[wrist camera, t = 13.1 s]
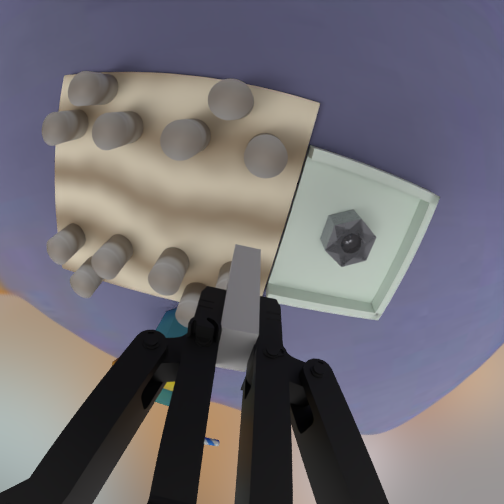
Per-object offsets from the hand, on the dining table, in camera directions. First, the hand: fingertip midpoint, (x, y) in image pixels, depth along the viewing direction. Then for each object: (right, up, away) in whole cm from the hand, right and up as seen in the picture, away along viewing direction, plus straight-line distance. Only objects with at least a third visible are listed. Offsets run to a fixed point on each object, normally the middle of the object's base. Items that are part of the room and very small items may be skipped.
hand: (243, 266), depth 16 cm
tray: (+11, +2, +11) cm, 16 cm away
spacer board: (-9, +7, +9) cm, 15 cm away
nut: (+10, +3, +10) cm, 14 cm away
